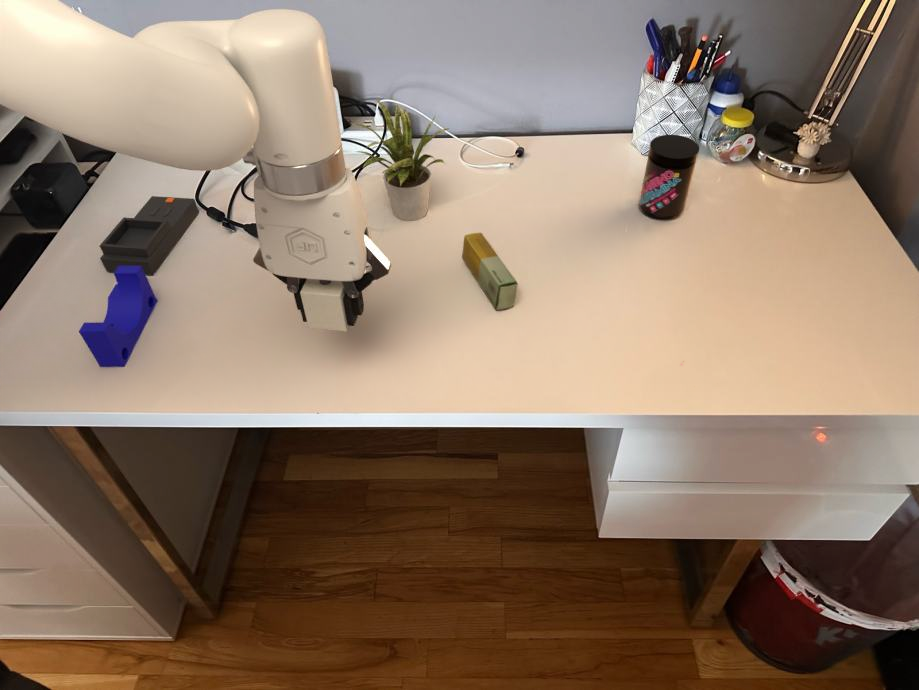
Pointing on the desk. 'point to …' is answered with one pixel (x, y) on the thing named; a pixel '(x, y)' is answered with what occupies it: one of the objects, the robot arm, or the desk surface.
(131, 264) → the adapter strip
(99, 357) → the blue curved cradle bracket
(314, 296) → the block
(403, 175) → the house plant
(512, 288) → the medication box
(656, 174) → the supplement container
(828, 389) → the desk surface
